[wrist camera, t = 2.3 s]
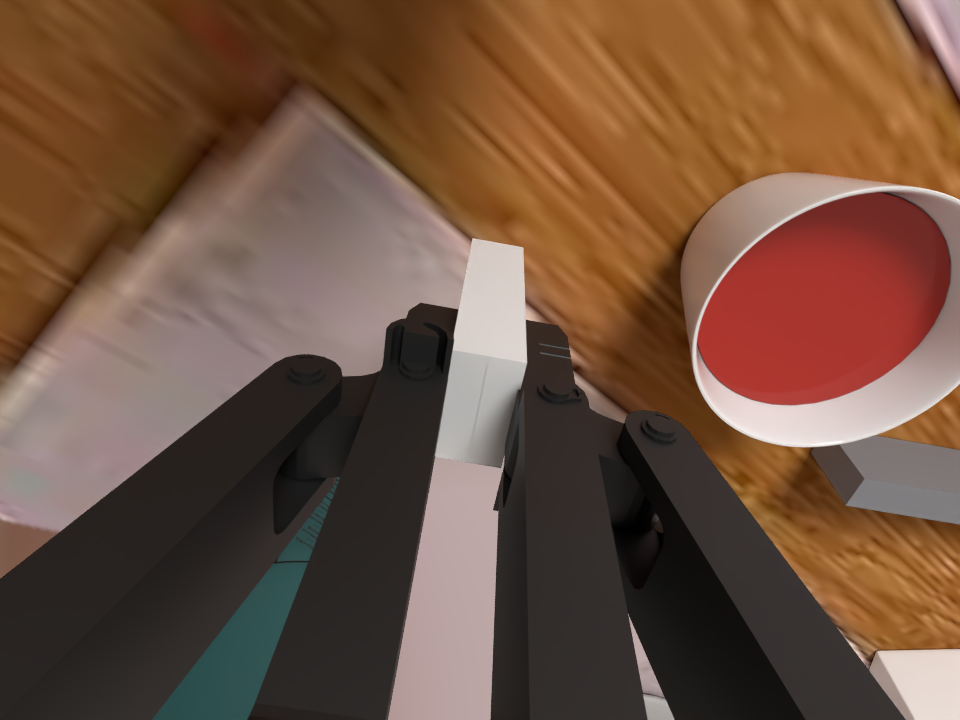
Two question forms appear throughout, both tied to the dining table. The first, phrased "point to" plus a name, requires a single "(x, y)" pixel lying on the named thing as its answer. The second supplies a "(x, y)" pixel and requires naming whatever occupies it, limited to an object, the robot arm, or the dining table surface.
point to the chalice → (657, 708)
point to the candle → (823, 306)
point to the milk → (920, 682)
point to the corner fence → (895, 477)
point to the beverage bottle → (246, 638)
